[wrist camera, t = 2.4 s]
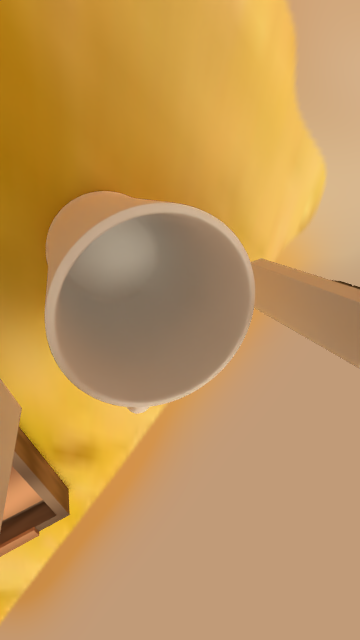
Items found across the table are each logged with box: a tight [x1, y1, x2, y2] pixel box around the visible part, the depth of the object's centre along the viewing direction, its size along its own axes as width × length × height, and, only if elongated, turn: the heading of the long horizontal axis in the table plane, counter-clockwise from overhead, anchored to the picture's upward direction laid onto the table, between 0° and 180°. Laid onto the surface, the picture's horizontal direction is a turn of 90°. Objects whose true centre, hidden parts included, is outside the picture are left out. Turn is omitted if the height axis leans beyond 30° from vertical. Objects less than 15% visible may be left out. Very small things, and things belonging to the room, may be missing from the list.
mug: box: [45, 191, 255, 413], centre depth 16 cm, size 12×8×12 cm
